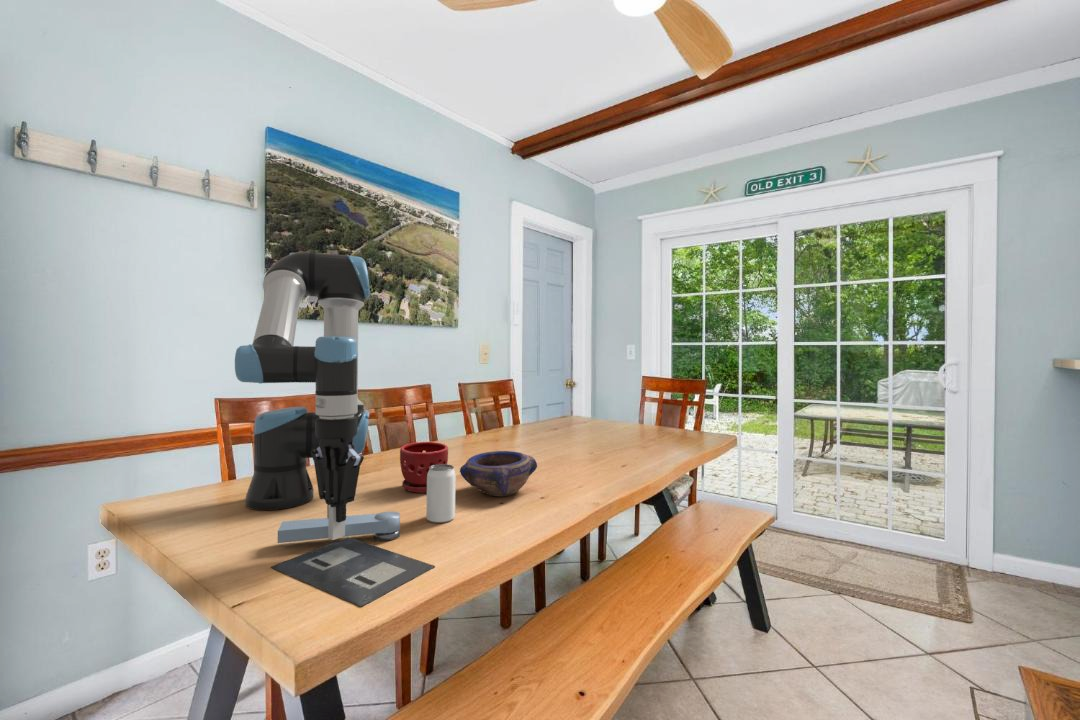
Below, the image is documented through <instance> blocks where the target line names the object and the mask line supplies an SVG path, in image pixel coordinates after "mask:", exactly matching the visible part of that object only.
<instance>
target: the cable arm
mask: <svg viewBox="0 0 1080 720" xmlns="http://www.w3.org/2000/svg"><path fill="white" fill-rule="evenodd" d="M399 529H400V530H401V513H400V512H398V511H382V512H379V513H378V512H377V513H365V514H356V515H355V514H354V515H346V520H345V536H342V537H341V538H344V537H345V538H346V537H351V536H352V537H355V536H362V535H363V536H364V535H375V533H392V532H395V531H398V530H399ZM324 539H328V517H321V518H320V517H319V518H309V519H299V520H297V519H296V520H287V521H285V520H283V521H282V522H281V523H280V526H279V528H278V530H277V544H282V543H284V544H285V543H294V542H304V541H313V540H324Z"/></svg>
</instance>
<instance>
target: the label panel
mask: <svg viewBox="0 0 1080 720" xmlns="http://www.w3.org/2000/svg"><path fill="white" fill-rule="evenodd" d="M270 568H271V569H273V570H276V571H278V572H281V573H282V574H285V575H287V576H289V575H290V577H291V576H292V577H291V578H294V579H296V580H299V581H301V582H303V583H306V584H308V585H310V586H312V587H314V588H317V589H319V590H321V591H324V592H325V593H328V594H330V595H332V596H334V597H337V598H339V599H342V600H344V601H347V602H349V603H352V604H353V605H355V606H358V607H360V608H362V607H364V606H366V605H368V604H370V603H372V602H373V601H375V600H378V599H379V598H381V597H382V596H384V595H387V594H389V593H390V592H392V591H394V590H396V589H398V588H399V587H401V586H403V585H405V584H407V583H408V582H410V581H412V580H414V579H416V578H417V577H419V576H421V575H422V574H424V573H426V572H428V571H430V570H432V569H434V568H436V566H435V565H433V564H430V563H427V562H425V561H421V560H418V559H415V558H412V557H411V556H410V557H409V556H407V555H403V554H400V553H397V552H394V551H391V550H389V549H386V548H383V547H379V546H376V545H373V544H371V543H367V542H365V541H361V540H359V539H356V538H352V537H351V536H346V537H345V538H344V537H343V539H340V540H337V541H334V542H332V543H329V544H327V545H324V546H321V547H319V548H318V547H317V548H316V549H313V550H311V551H308V552H305V553H303V554H300V555H298V556H295V557H293V558H290V559H287V560H285V561H282V562H279V563H277V564H275V565H272V566H270Z"/></svg>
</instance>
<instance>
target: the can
mask: <svg viewBox="0 0 1080 720" xmlns="http://www.w3.org/2000/svg"><path fill="white" fill-rule="evenodd" d="M454 468H455V467H454V465H452V464H448V463H447V464H439V465H433V466H430V467H429V472H428V474H427V492H426V519H427V520H428V522H430V523H434V524H443V523H450V522H451V521H453V520H454V518H455V516H456V477H457V476H456V471H455V469H454Z"/></svg>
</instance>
